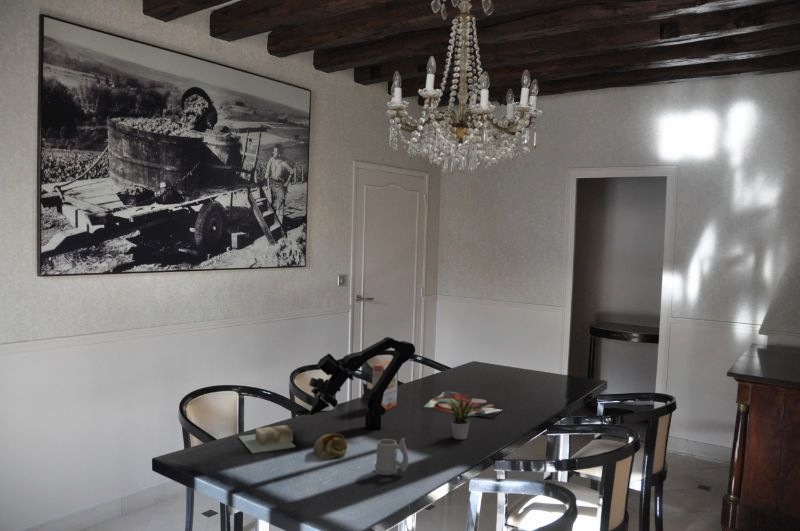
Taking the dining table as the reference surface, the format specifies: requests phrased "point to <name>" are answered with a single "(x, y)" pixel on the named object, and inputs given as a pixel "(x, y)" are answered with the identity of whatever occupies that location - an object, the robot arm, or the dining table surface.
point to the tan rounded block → (274, 434)
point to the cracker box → (391, 390)
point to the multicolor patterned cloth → (444, 407)
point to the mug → (390, 456)
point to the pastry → (330, 446)
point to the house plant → (460, 419)
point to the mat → (257, 447)
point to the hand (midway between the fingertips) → (310, 414)
